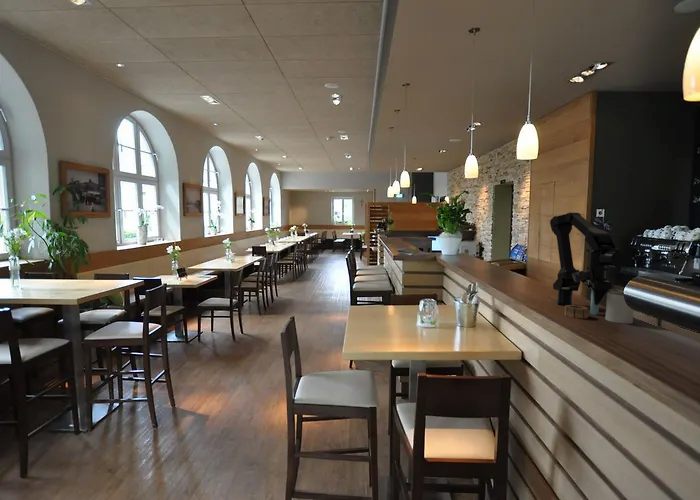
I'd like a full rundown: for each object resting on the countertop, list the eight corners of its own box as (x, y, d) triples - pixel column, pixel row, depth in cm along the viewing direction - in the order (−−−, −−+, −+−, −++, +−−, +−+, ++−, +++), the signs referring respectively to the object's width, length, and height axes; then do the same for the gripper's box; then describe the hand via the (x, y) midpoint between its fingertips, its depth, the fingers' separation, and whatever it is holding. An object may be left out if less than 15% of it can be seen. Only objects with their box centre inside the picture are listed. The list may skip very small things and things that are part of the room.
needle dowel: (589, 312, 162) (590, 288, 161) (597, 313, 161) (598, 288, 160) (591, 314, 159) (592, 289, 158) (599, 315, 158) (601, 289, 158)
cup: (626, 318, 153) (628, 292, 152) (637, 324, 145) (639, 296, 144) (601, 317, 155) (603, 291, 154) (611, 322, 147) (613, 295, 146)
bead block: (562, 313, 160) (563, 304, 160) (584, 314, 158) (585, 305, 158) (567, 317, 153) (568, 308, 153) (590, 319, 151) (590, 309, 151)
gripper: (568, 261, 170) (566, 298, 171) (580, 265, 152) (578, 306, 153) (599, 262, 167) (596, 300, 168) (614, 267, 149) (611, 309, 150)
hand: (594, 303), depth 160 cm, fingers open, 4 cm apart
